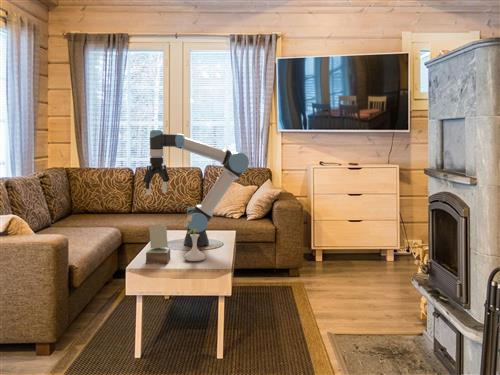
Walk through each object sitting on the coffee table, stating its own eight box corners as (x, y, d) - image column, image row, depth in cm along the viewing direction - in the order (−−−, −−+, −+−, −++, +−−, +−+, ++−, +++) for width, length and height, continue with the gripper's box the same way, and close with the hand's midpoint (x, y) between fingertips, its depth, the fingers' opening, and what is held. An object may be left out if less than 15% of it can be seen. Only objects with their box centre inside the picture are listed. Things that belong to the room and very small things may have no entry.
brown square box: (149, 259, 269) (149, 247, 268) (170, 259, 269) (170, 247, 268) (146, 264, 258) (146, 252, 257) (167, 264, 258) (167, 252, 257)
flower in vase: (194, 256, 274) (194, 211, 272) (209, 260, 267) (210, 214, 265) (177, 261, 264) (177, 214, 262) (192, 264, 257) (192, 216, 255)
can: (158, 247, 257) (156, 224, 258) (146, 248, 263) (145, 226, 264) (171, 246, 264) (170, 224, 266) (159, 247, 270) (158, 225, 271)
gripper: (165, 156, 300) (165, 191, 302) (136, 157, 278) (136, 195, 280) (175, 156, 296) (175, 192, 298) (146, 157, 275) (146, 196, 277)
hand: (156, 193), depth 289 cm, fingers open, 13 cm apart
